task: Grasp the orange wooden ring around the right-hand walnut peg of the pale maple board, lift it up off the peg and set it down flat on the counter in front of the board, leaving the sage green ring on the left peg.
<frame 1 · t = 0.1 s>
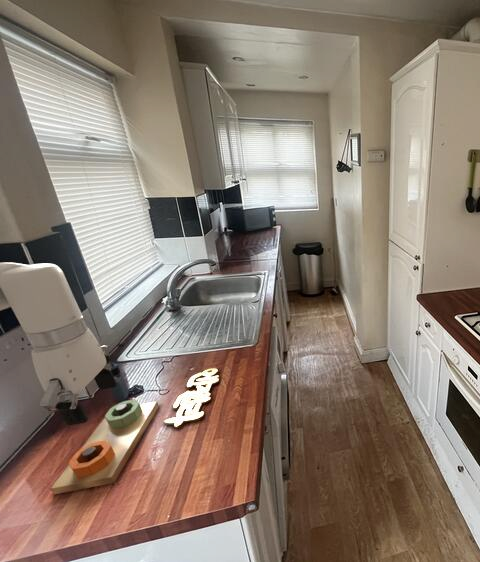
hand: (94, 403, 62), 23 cm above the worktop, tool pointing down, fingers open, 9 cm apart
orange ring: (94, 462, 73), point 2 cm above the worktop, touching peg board
lettering: (197, 396, 96), on the worktop
peg board: (114, 443, 81), on the worktop
vaping device: (123, 397, 97), on the worktop
green ring: (125, 417, 86), point 2 cm above the worktop, touching peg board
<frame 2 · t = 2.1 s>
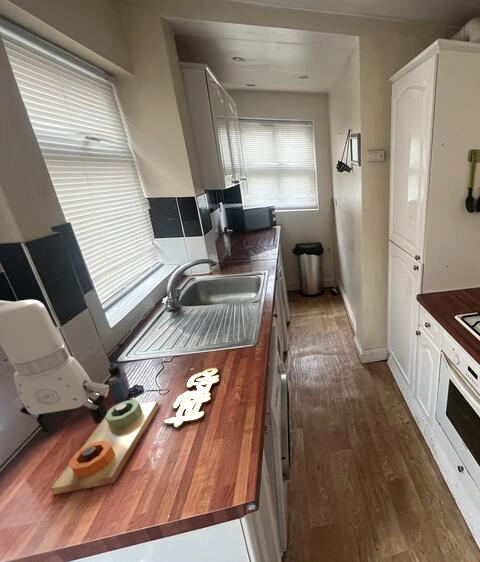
hand: (77, 423, 68), 15 cm above the worktop, tool pointing down, fingers open, 9 cm apart
nothing on the worktop moved.
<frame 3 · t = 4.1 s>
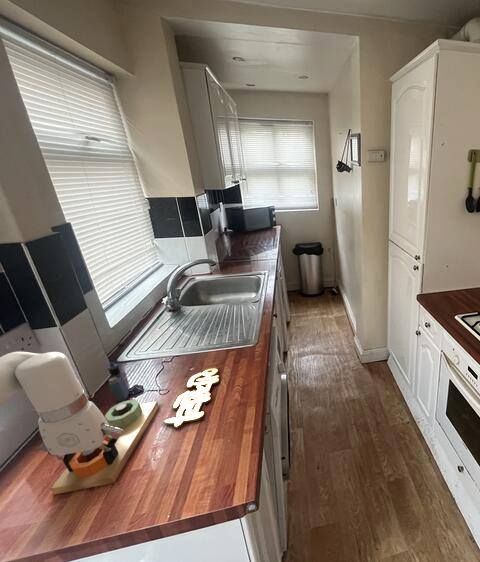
hand: (94, 462, 73), 2 cm above the worktop, tool pointing down, fingers closed on orange ring, 7 cm apart
orange ring: (95, 462, 73), point 2 cm above the worktop, touching gripper, peg board
everything else where it was.
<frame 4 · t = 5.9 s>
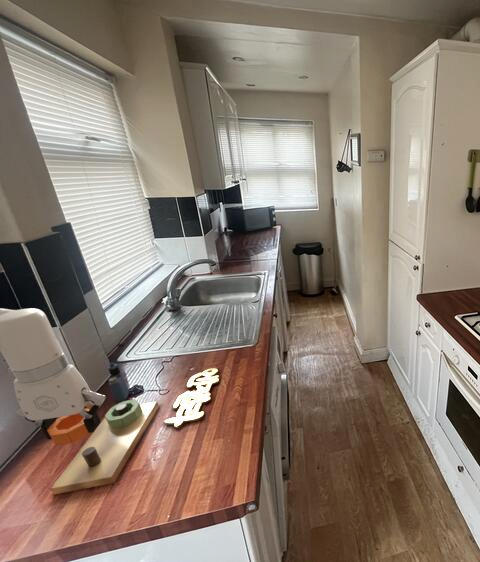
hand: (75, 430, 69), 12 cm above the worktop, tool pointing down, fingers closed on orange ring, 7 cm apart
orange ring: (75, 431, 70), point 12 cm above the worktop, touching gripper
everything else where it was.
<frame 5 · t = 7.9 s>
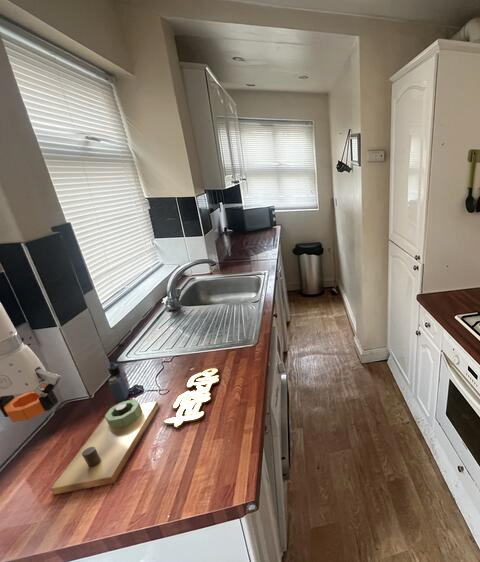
hand: (32, 408, 73), 15 cm above the worktop, tool pointing down, fingers closed on orange ring, 7 cm apart
orange ring: (33, 409, 73), point 15 cm above the worktop, touching gripper
everything else where it was.
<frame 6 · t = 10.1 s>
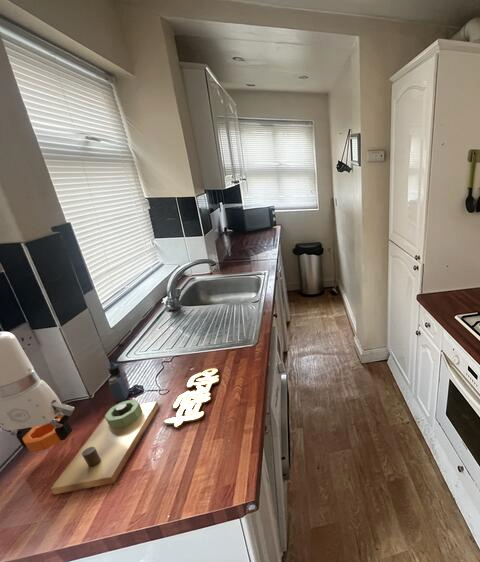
hand: (48, 438, 77), 5 cm above the worktop, tool pointing down, fingers closed on orange ring, 7 cm apart
orange ring: (49, 438, 77), point 4 cm above the worktop, touching gripper
everything else where it was.
when the fingers open (0 cm above the worktop, at t = 11.8 s): orange ring stays where it is, on the worktop.
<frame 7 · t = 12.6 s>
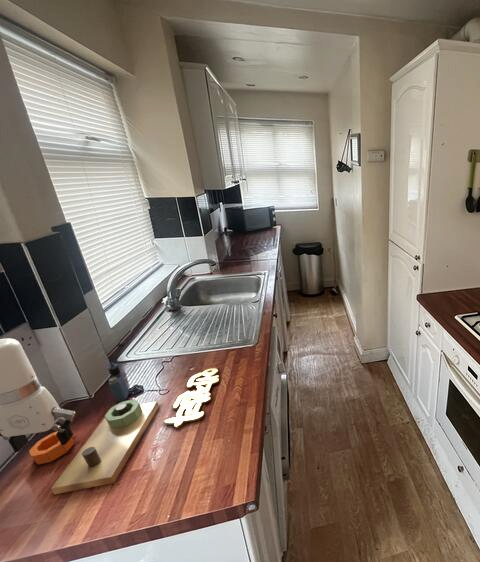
hand: (45, 443, 77), 3 cm above the worktop, tool pointing down, fingers open, 9 cm apart
orange ring: (55, 450, 79), on the worktop
everything else where it was.
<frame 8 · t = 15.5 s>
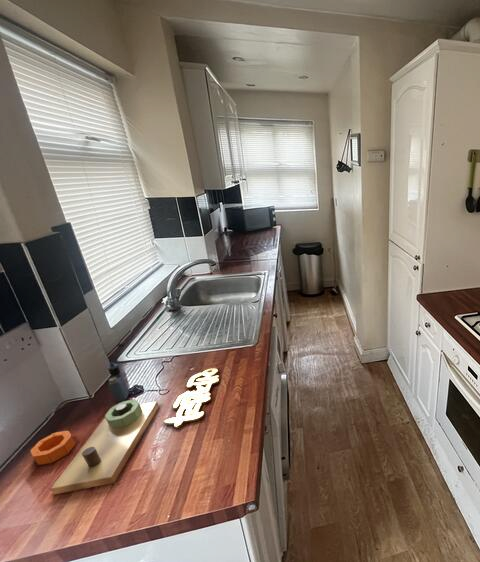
nothing on the worktop moved.
at the end: orange ring inside the target area (0.2 cm from its centre), on the worktop; orange ring tilted 0°; green ring moved 0.0 cm from its start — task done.
